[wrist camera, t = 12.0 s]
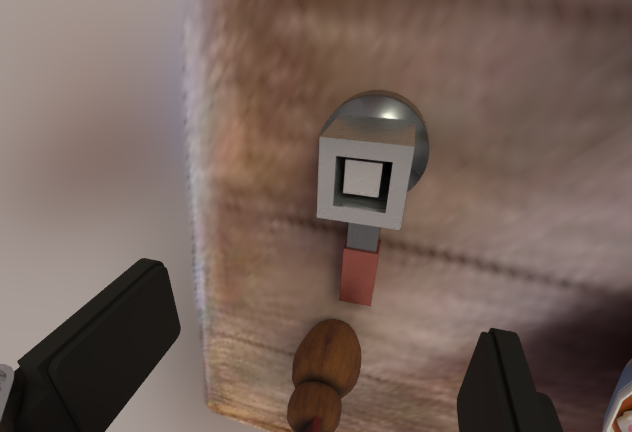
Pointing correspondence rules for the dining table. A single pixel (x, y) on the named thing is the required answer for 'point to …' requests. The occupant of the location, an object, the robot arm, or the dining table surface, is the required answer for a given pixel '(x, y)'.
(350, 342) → the wooden figurine
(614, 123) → the dining table surface
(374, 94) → the ratchet
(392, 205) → the socket
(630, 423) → the ramen bowl
